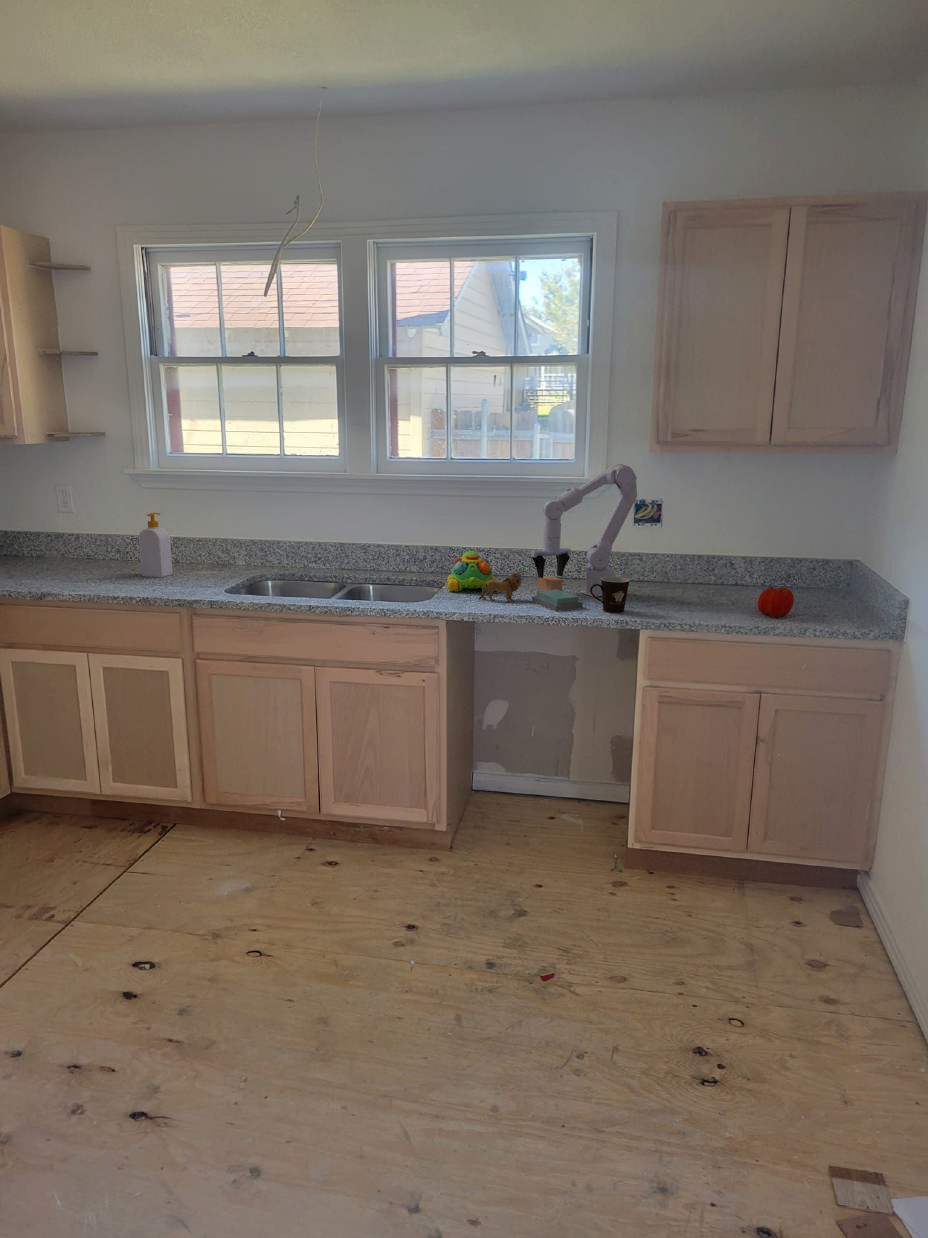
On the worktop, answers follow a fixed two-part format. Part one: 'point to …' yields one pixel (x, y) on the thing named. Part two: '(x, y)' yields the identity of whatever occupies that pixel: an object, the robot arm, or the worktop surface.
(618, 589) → the coffee mug
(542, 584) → the terracotta brick
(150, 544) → the soap bottle
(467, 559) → the turtle toy
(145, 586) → the worktop surface
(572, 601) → the green-topped grey block
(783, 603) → the tomato
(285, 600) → the worktop surface
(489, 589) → the lion figurine
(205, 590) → the worktop surface
